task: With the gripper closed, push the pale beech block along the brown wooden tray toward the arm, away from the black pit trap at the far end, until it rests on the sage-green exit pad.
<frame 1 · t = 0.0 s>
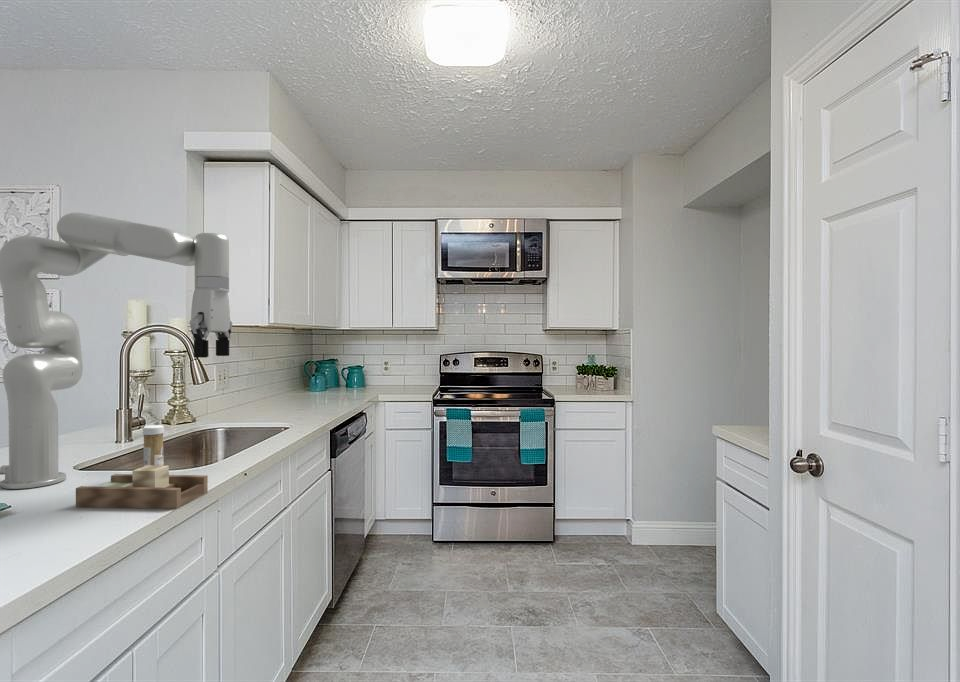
hand: (212, 356, 135), 31 cm above the countertop, fingers open, 9 cm apart
sprinkles bottle: (153, 480, 141), on the countertop
beech block: (151, 488, 124), point 2 cm above the countertop, touching brown wooden tray
brown wooden tray: (144, 499, 124), on the countertop
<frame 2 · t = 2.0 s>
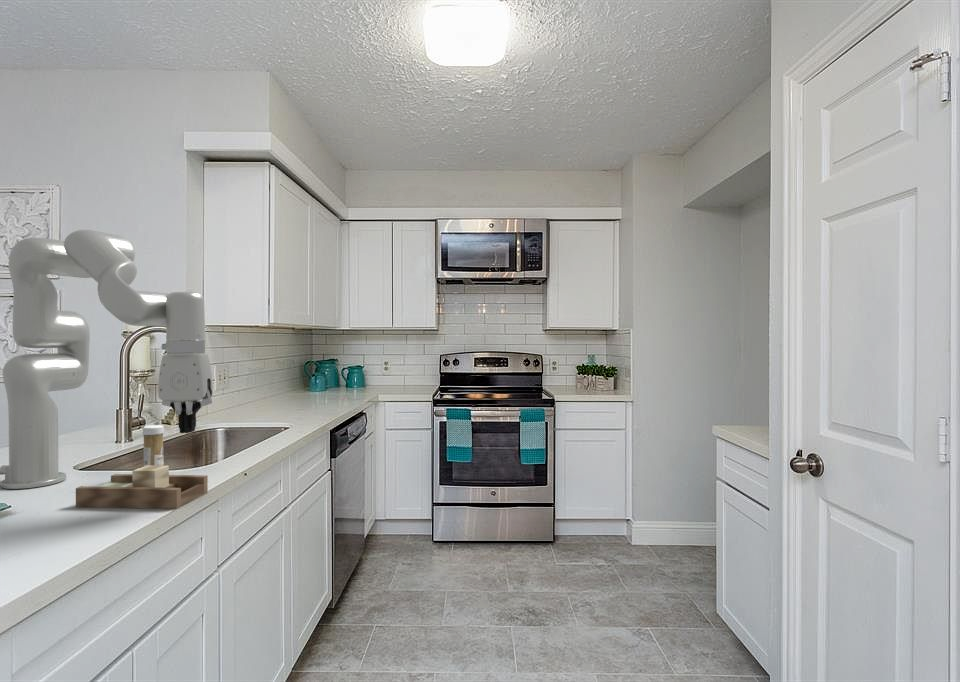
hand: (187, 431, 123), 15 cm above the countertop, fingers closed
nothing on the countertop moved.
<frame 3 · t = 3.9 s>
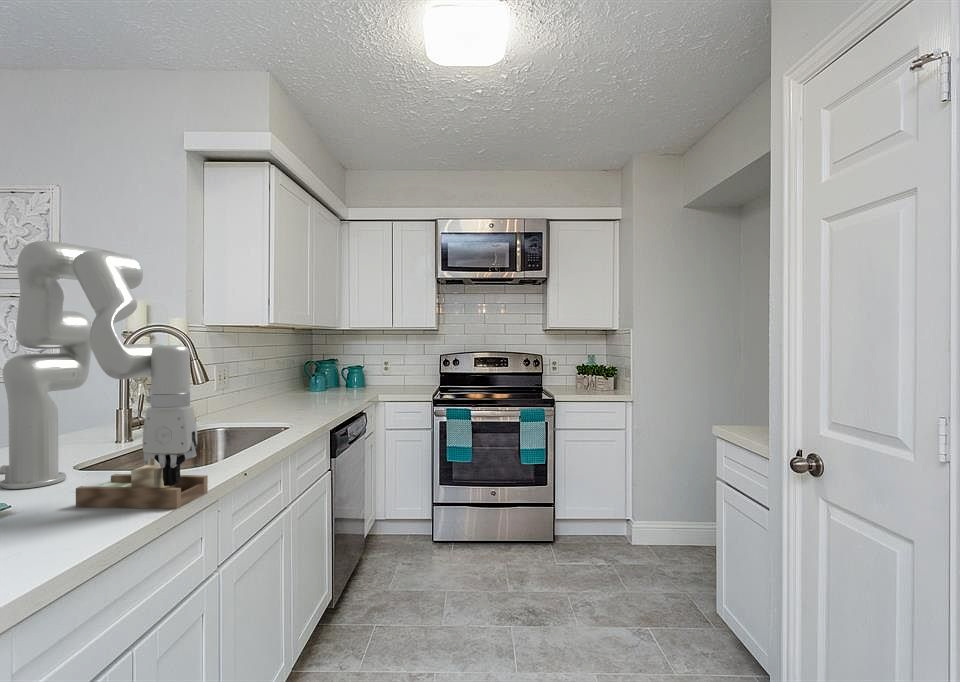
hand: (171, 484, 124), 3 cm above the countertop, fingers closed
beech block: (150, 488, 124), point 3 cm above the countertop, touching gripper
everything else where it was.
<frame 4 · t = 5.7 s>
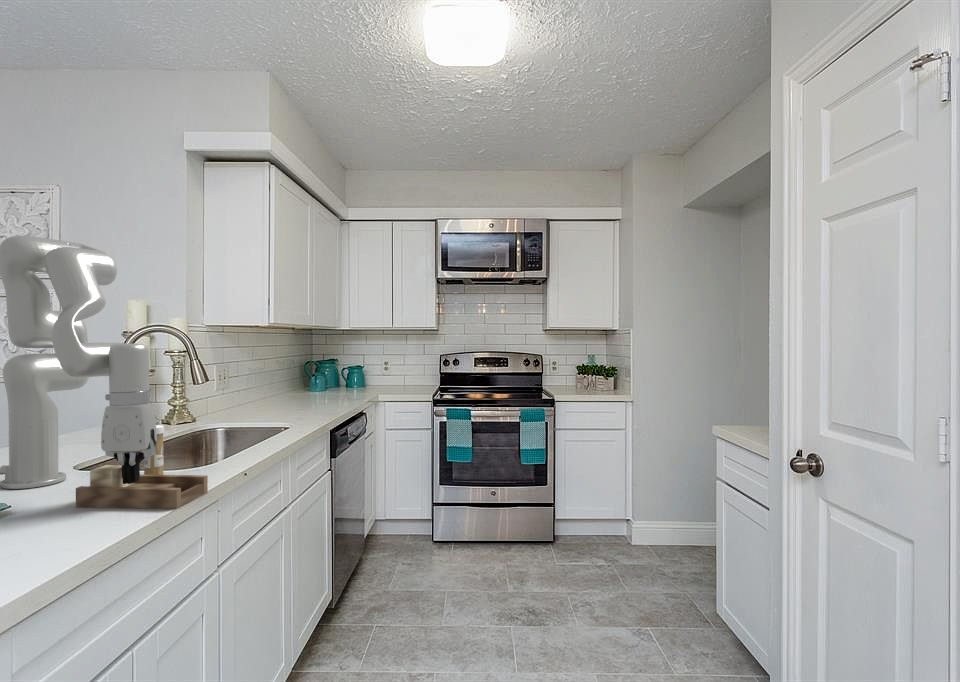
hand: (131, 482, 124), 4 cm above the countertop, fingers closed
beech block: (109, 488, 124), point 2 cm above the countertop, touching gripper, brown wooden tray
everything else where it was.
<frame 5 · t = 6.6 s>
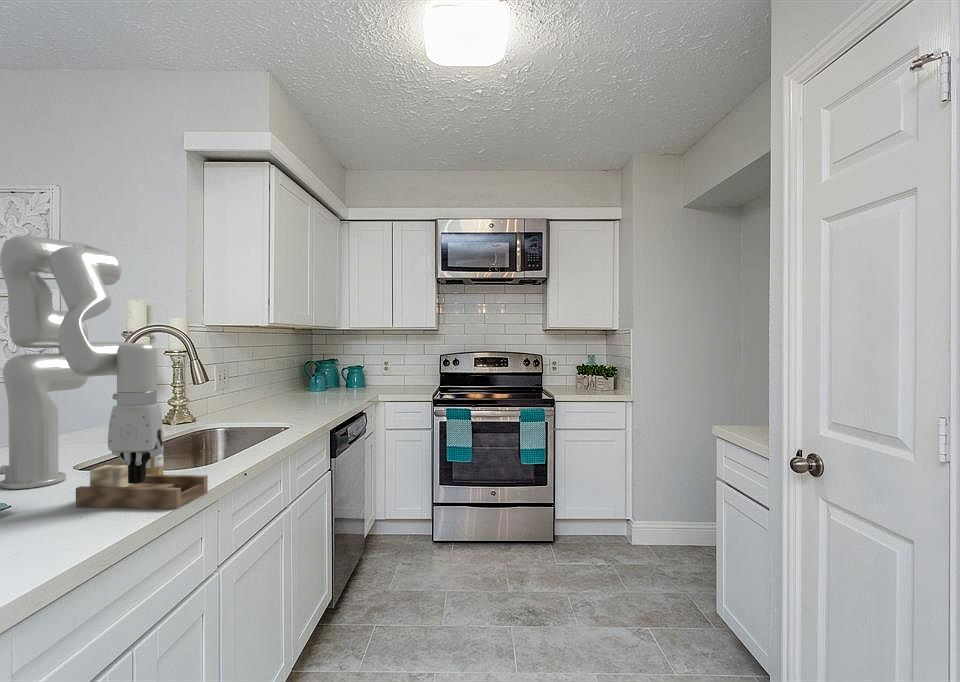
hand: (136, 481, 124), 4 cm above the countertop, fingers closed
beech block: (109, 488, 124), point 2 cm above the countertop, touching brown wooden tray
everything else where it was.
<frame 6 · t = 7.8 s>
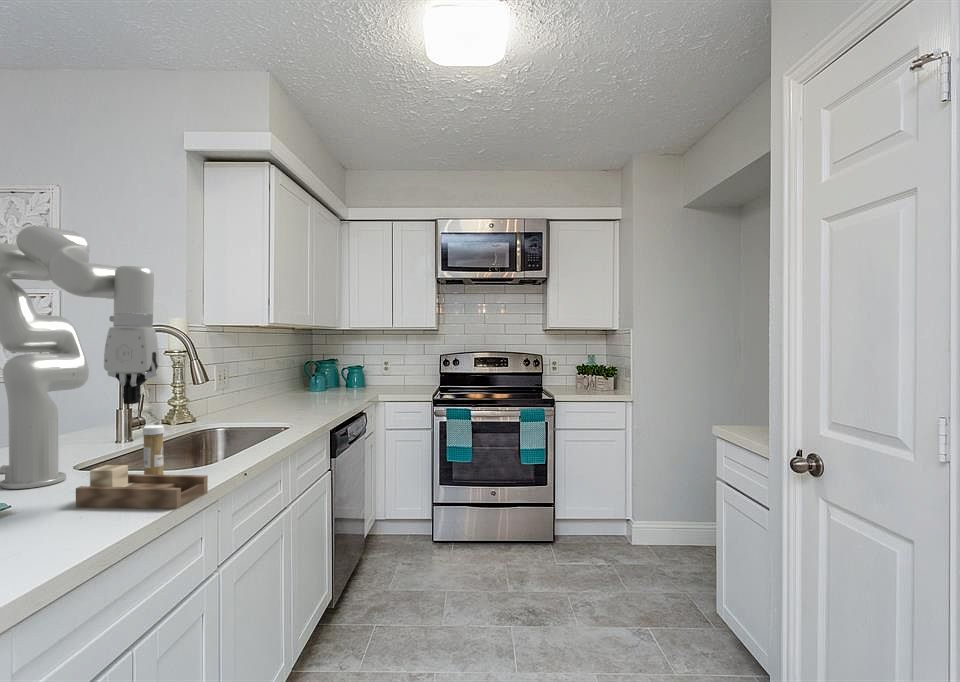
hand: (131, 403, 126), 21 cm above the countertop, fingers closed
nothing on the countertop moved.
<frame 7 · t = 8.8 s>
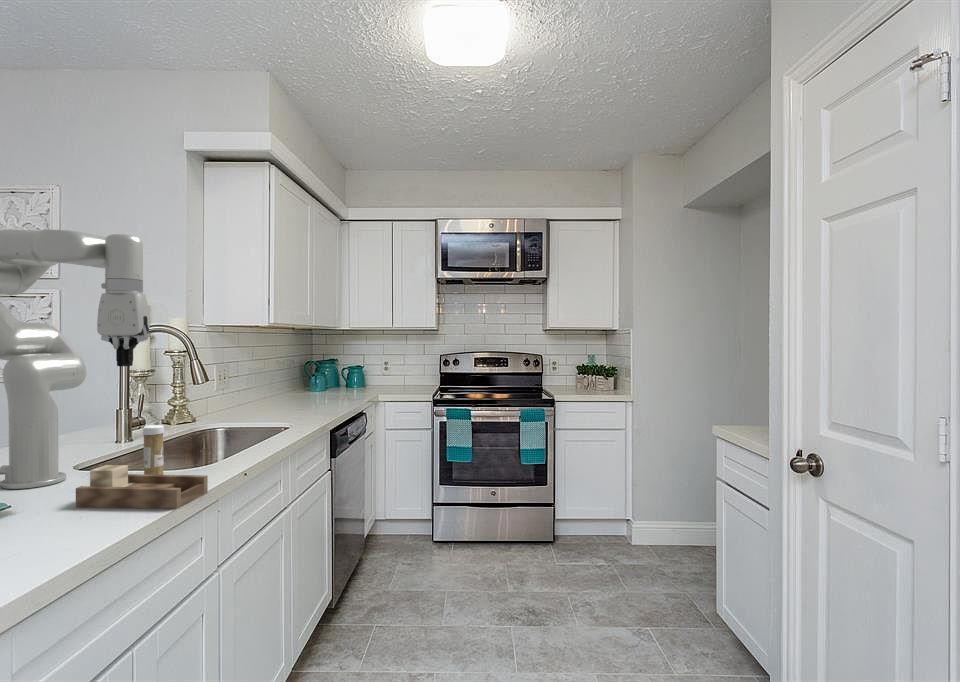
hand: (124, 365, 132), 29 cm above the countertop, fingers closed
nothing on the countertop moved.
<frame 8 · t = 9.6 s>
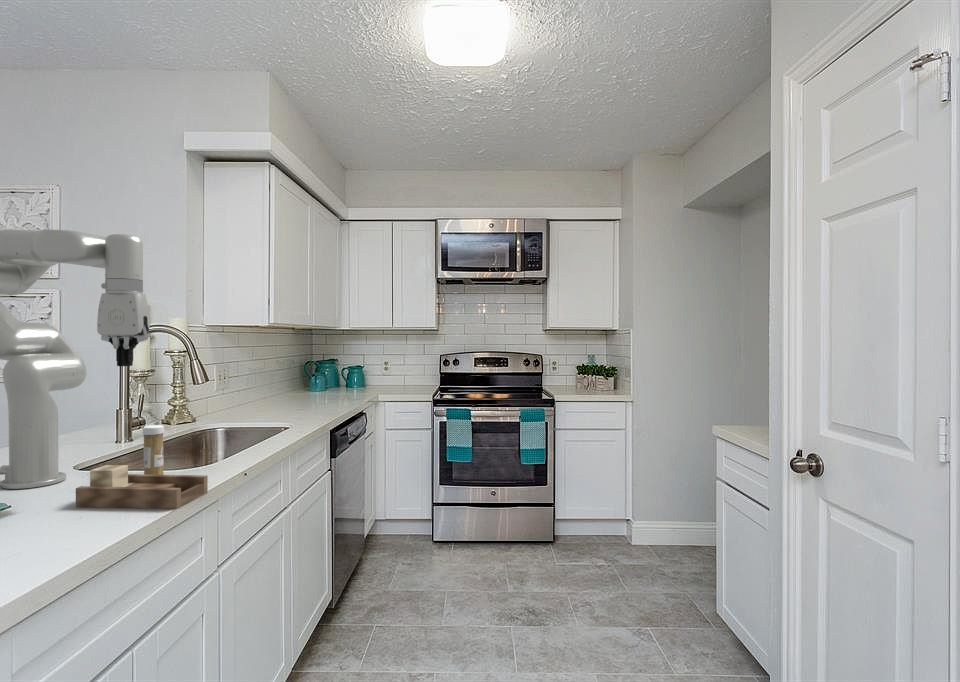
hand: (124, 365, 132), 29 cm above the countertop, fingers closed
nothing on the countertop moved.
at the end: beech block inside the target area (0.6 cm from its centre), point 2.5 cm above the countertop; beech block tilted 0° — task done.
